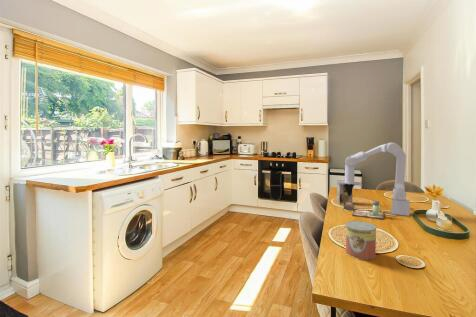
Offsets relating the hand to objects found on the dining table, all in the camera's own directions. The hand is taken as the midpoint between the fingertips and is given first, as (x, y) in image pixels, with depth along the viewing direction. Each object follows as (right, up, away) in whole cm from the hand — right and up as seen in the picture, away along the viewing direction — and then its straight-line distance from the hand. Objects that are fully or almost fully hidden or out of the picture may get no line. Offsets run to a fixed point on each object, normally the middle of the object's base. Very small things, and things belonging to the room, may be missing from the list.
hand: (349, 195), depth 174 cm
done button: (0, -7, +1) cm, 7 cm away
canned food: (-23, -15, -64) cm, 70 cm away
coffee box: (+3, -8, +16) cm, 18 cm away
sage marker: (+9, -9, -16) cm, 21 cm away
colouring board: (+6, -10, -13) cm, 18 cm away
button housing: (0, -9, +1) cm, 9 cm away
